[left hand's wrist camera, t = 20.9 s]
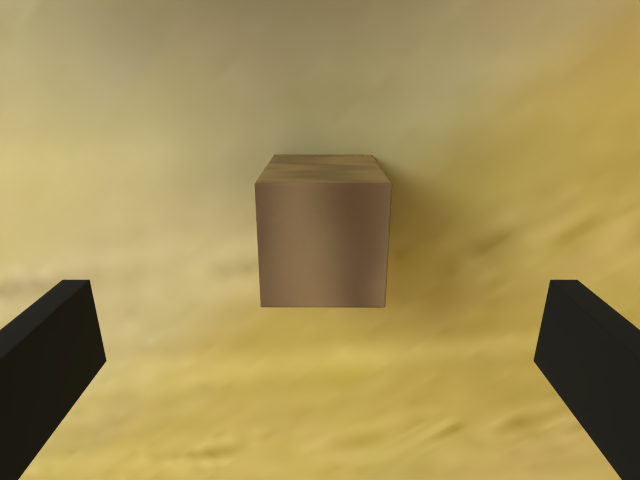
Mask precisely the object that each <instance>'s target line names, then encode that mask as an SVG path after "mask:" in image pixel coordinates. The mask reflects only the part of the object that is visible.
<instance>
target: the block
mask: <svg viewBox="0 0 640 480" xmlns="http://www.w3.org/2000/svg"><path fill="white" fill-rule="evenodd" d="M391 195H392V183H391V182H390V180H389V179H388V177H387V176H386V175H385V173H384V172H383V170H382V169H381V167H380V166H379V165H378V163H377V162H376V160H375V159H374V158H373V156H372V155H274V156H273V158H272V159H271V161H270V162H269V164H268V165H267V167H266V168H265V169H264V171H263V172H262V174H261V175H260V177H259V178H258V180H257V181H256V183H255V200H256V220H257V240H258V260H259V280H260V300H261V307H385V302H386V284H387V266H388V249H389V231H390V213H391Z"/></svg>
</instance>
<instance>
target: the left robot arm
mask: <svg viewBox="0 0 640 480" xmlns="http://www.w3.org/2000/svg"><path fill="white" fill-rule="evenodd" d="M105 362H106V357H105V352H104V347H103V342H102V337H101V332H100V328H99V323H98V318H97V313H96V308H95V303H94V299H93V294H92V289H91V284H90V280H62V281H61V282H59V283H58V284H57V285H56V286H54V287H53V288H52V289H51V290H49V291H48V292H47V293H46V294H45V295H43V296H42V297H41V298H40V299H38V300H37V301H36V302H35V303H33V304H32V305H31V306H30V307H28V308H27V309H26V310H25V311H23V312H22V313H21V314H20V315H18V316H17V317H16V318H15V319H13V320H12V321H11V322H10V323H8V324H7V325H6V326H5V327H3V328H2V329H1V330H0V480H18V479H19V478H20V477H21V475H22V474H23V472H24V471H25V470H26V468H27V467H28V466H29V464H30V463H31V462H32V460H33V459H34V458H35V456H36V455H37V454H38V452H39V451H40V450H41V448H42V447H43V446H44V444H45V443H46V442H47V440H48V439H49V437H50V436H51V435H52V433H53V432H54V431H55V429H56V428H57V427H58V425H59V424H60V423H61V421H62V420H63V419H64V417H65V416H66V415H67V413H68V412H69V411H70V409H71V408H72V406H73V405H74V404H75V402H76V401H77V400H78V398H79V397H80V396H81V394H82V393H83V392H84V390H85V389H86V388H87V386H88V385H89V384H90V382H91V381H92V380H93V378H94V377H95V376H96V374H97V373H98V371H99V370H100V369H101V367H102V366H103V365H104V363H105ZM534 362H535V363H536V365H537V366H538V367H539V369H540V370H541V371H542V373H543V374H544V376H545V377H546V378H547V380H548V381H549V382H550V384H551V385H552V386H553V388H554V389H555V390H556V392H557V393H558V394H559V396H560V397H561V398H562V400H563V401H564V402H565V404H566V405H567V406H568V408H569V409H570V411H571V412H572V413H573V415H574V416H575V417H576V419H577V420H578V421H579V423H580V424H581V425H582V427H583V428H584V429H585V431H586V432H587V433H588V435H589V436H590V437H591V439H592V440H593V442H594V443H595V444H596V446H597V447H598V448H599V450H600V451H601V452H602V454H603V455H604V456H605V458H606V459H607V460H608V462H609V463H610V464H611V466H612V467H613V468H614V470H615V471H616V472H617V474H618V475H619V477H620V478H621V479H622V480H640V330H639V329H638V328H637V327H635V326H634V325H633V324H632V323H630V322H629V321H628V320H627V319H625V318H624V317H623V316H622V315H620V314H619V313H618V312H617V311H615V310H614V309H613V308H612V307H610V306H609V305H608V304H607V303H605V302H604V301H603V300H602V299H600V298H599V297H598V296H597V295H595V294H594V293H593V292H592V291H591V290H589V289H588V288H587V287H586V286H584V285H583V284H582V283H581V282H579V281H578V280H550V284H549V289H548V294H547V299H546V303H545V308H544V313H543V318H542V323H541V328H540V332H539V337H538V342H537V347H536V352H535V357H534Z"/></svg>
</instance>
